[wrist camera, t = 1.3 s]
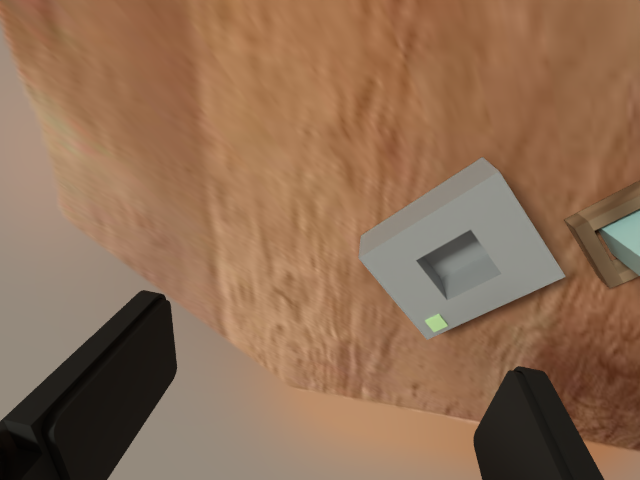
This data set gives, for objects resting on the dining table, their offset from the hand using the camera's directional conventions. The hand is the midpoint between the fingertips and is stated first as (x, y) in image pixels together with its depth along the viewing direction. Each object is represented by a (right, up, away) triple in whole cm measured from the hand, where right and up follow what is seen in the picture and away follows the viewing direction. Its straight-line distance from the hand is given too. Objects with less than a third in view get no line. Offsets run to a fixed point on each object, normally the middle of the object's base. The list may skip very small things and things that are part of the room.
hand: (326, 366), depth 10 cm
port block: (+13, +3, +27) cm, 30 cm away
